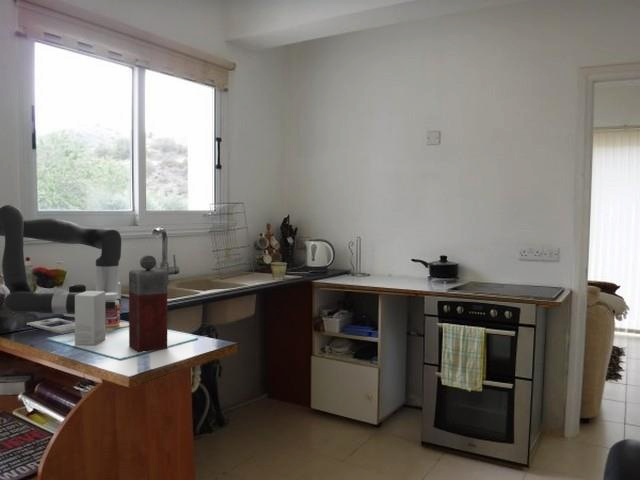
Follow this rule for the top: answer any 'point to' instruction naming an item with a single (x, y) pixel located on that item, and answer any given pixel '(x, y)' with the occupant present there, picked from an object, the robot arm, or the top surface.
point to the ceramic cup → (278, 269)
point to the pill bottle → (112, 310)
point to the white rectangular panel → (58, 329)
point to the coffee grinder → (147, 307)
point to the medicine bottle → (75, 289)
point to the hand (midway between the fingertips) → (117, 303)
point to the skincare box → (89, 317)
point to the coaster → (121, 325)
